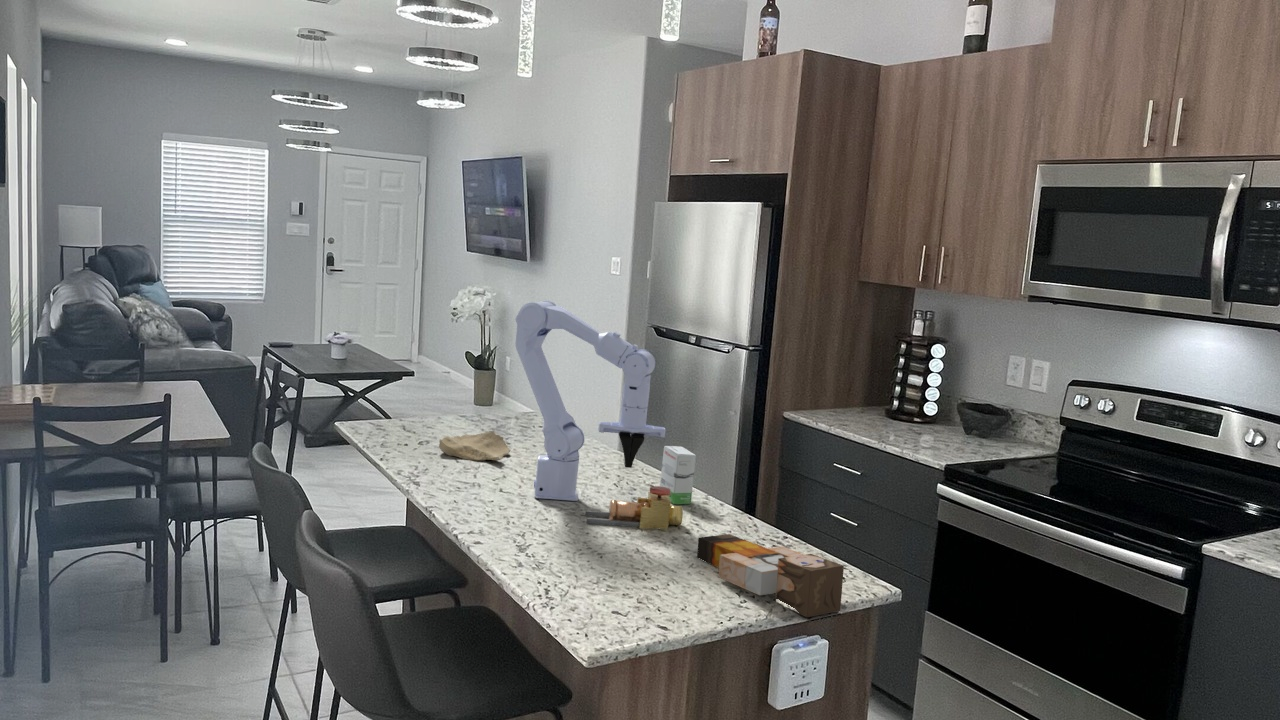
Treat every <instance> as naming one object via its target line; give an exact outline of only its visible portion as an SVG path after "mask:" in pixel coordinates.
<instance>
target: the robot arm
mask: <svg viewBox="0 0 1280 720" xmlns="http://www.w3.org/2000/svg"><path fill="white" fill-rule="evenodd" d="M514 320H515V322H516V332H515V333H516V335H515V336H516V337H515V348H516V352H517V354H518V357H519V359H520V361H521V365H522V367H523V369H524V371H525V374H526V377H527V380H528V383H529V386H530V387H531V389H532V392H533V395H534V398H535V401H536V403H537V406H538V408H539V411H540V414H541V416H542V418H543V423H542V424H543V425H542V430H541V431H542V433H543V437H544V443H543V444H544V445H543V446H544V450H545V452H546V453H547V454H545V455H542V454H541V455H539V454H538V455H537V462H536V470H535V471H536V472H535V479H534V480H533V488H534V498H535V499H545V500H559V501H570V502H571V501H573V502H577V501H579V498H578V492H577V491H578V490H577V484H578V483H577V482H578V474H579V473H578V472H579V462H580V454H579V451H580V450H581V448H582V447H583V445H584V443H585V440H586V439H585V433H584V432H583V430H582V428H581V427H579V426H578V425H577V424H576V421H575V420H574V417H573V416H572V415H571V414H570V413H569V412H568V411H567V410H566V407H565V404H564V402H563V400H562V399H563V398H562V396H561V394H560V392H559V389H558V387H557V384H556V381H555V379H554V376H553V373H552V371H551V368H550V366H549V363H548V361H547V359H546V356H545V353H544V350H543V348H542V346H543V343H544V342H545V340H546V338H547V336H548V334H549V333H550V332H551V331H552V330H564V331H566V332H568V333H570V334H572V335H573V336H575V337H577V338H579V339H580V340H582V341H584V342H586V343H588V344H590V345H592V346H593V347H594V350H595V354H596V355H597V356H599V357H601V358H602V359H603V360H605V361H608V363H610V364H612V365H614V366H615V367H617V368H619V369H622V371H623V374H624V382H623V389H622V390H623V391H622V397H621V398H622V399H621V408H620V417H619V422H618V421H617V422H616V421H615V422H613V421H607V422H606V421H599V422H598V429H597V430H598V433H601V434H604V433H609V434H610V433H612V434H618V438H619V440H620V442H621V447H622V453H623V457H624V459H623V460H624V467H625V468H628V469H632V467H633V465H634V464H633V463H634V460H635V458H636V455H637V453H638V451H639V450H640V448H641V447H642V445H643V444H644V441H645V436H649V437H658V438H659V437H660V438H663V439H664V438H666V430H667V429H666V428H665V427H663V426H656V425H651V424H647V415H648V406H649V399H650V391H651V390H650V389H651V378H652V375H651V374H652V372H654V370H655V367H656V358H655V357H654V355H653V354H652V353H651V352H649V350H648V349H644V348H643V349H642V348H641V349H639V345H637V344H635V343H634V344H631V343H630V342H628V341H626V340H625V339H624V338H621V334H620V333H619V332H617V331H615V332H614V331H613V332H611V331H606V332H600V331H599V330H597V329H596V328H595V327H593V326H592V325H590V324H589V323H587V322H586V321H584V320H583V319H581V318H580V317H578V316H576V314H573V313H572V312H571V311H569V310H567V309H566V308H564V307H563V306H561V305H557V304H555V302H553V301H550V300H543V301H538V302H534V301H533V302H532V301H531V302H530V301H529V302H527V303H525V304H523V305H522V307H521V308H520V310H519V311H518V313H517V315H516V317H515V319H514Z"/></svg>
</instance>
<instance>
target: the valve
mask: <svg viewBox="0 0 1280 720" xmlns="http://www.w3.org/2000/svg"><path fill="white" fill-rule="evenodd" d="M670 492H671V490H670V489H669V488H666V487H660V485H658V486H656V485H655V486H650V487H649V491H648V492H647V497H639V496H638V497H637V501H636V503H643V502H648V503H649V507H641V515H640V523H639V527H638V528H639V529H640V528H642V529H641V530H650V529H655V528H660V529H659V530H668V529H669V525H670V526H682V523H683V513H684V510H683V506H682V505H673V504H672V503H671V501H670V499H669V497H668V495H670ZM671 504H672V505H671Z"/></svg>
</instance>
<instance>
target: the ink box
mask: <svg viewBox="0 0 1280 720" xmlns="http://www.w3.org/2000/svg"><path fill="white" fill-rule="evenodd" d="M696 458H697V455H696V454H695V453H693V452H692V451H690V450H688V449H687V448H685V447H683V446H676V445H675V446H674V445H664V446H663V454H662V462H661V472H660V481H659V486H660V487H666V488H669V489H670V490H671V492H670V495H668V497H669V499H670V501H671V504H672V505H691V504H692V497H693V487H694V477H695V470H696V469H695V468H696Z"/></svg>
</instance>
